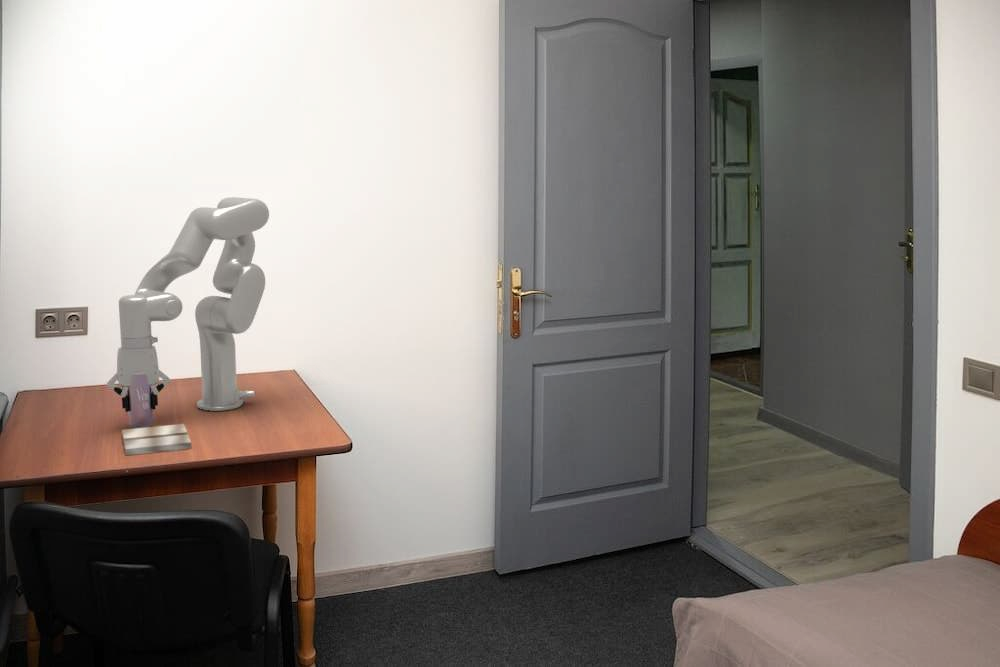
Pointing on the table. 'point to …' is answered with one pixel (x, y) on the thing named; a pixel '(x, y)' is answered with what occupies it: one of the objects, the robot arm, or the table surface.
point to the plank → (153, 432)
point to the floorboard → (157, 444)
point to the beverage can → (140, 402)
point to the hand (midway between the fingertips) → (140, 409)
